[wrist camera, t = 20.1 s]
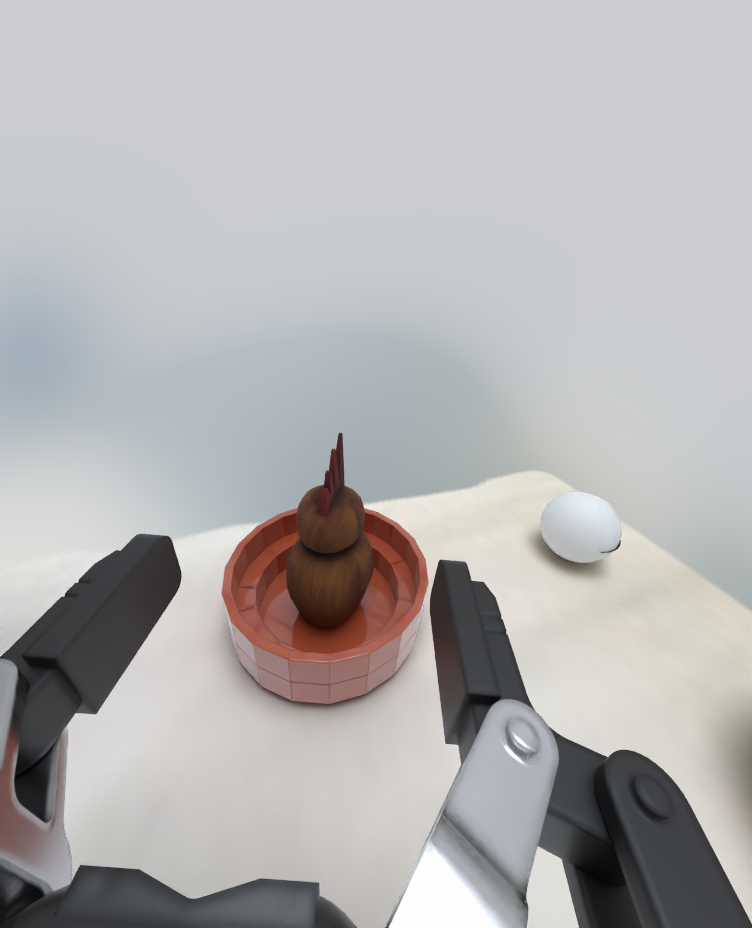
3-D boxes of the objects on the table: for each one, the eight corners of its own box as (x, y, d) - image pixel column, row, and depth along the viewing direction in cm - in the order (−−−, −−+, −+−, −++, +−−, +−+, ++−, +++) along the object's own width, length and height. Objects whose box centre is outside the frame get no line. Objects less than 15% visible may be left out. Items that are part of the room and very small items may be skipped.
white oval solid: (576, 589, 33) (608, 531, 29) (517, 540, 38) (537, 486, 34) (633, 558, 37) (666, 504, 33) (572, 518, 42) (595, 468, 39)
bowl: (196, 700, 22) (177, 651, 19) (268, 540, 35) (263, 497, 32) (425, 717, 22) (440, 671, 19) (412, 551, 35) (419, 510, 33)
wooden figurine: (329, 564, 32) (330, 417, 24) (380, 594, 29) (398, 440, 22) (275, 615, 27) (255, 449, 19) (330, 656, 24) (332, 485, 17)
